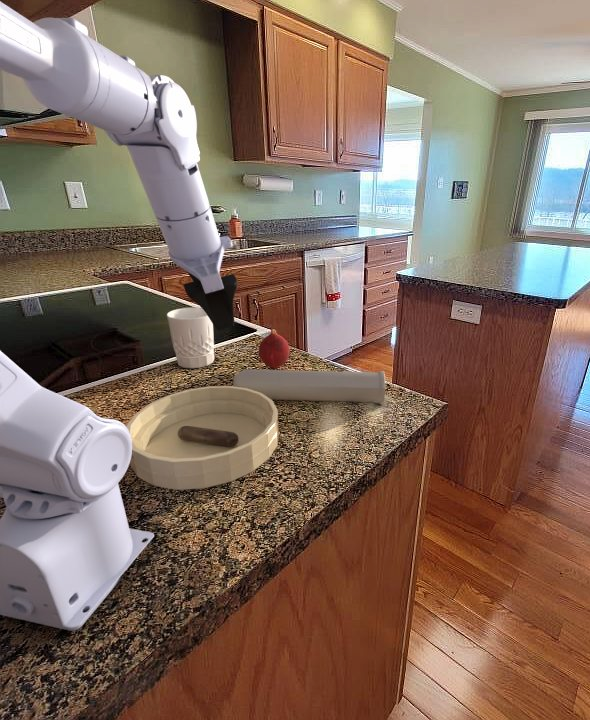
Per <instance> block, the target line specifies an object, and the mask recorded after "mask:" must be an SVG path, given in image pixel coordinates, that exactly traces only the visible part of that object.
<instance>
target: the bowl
mask: <svg viewBox="0 0 590 720" xmlns="http://www.w3.org/2000/svg"><path fill="white" fill-rule="evenodd" d="M125 426H126V427H127V429H128V430H129V433H130V435H131V440H132V455H131V460H130V463H129V466H130V467H131V469H132V470H133V472H134V473H135V475H136V476H137V477H138V479H140V480H143V481H144V482H146V483H147V484H150V485H152V486H153V487H156V488H157V487H158V488H164V489H168V490H169V489H170V490H176V491H181V490H185V491H186V490H199V489H200V490H201V489H202V490H203V489H207V488H211V487H215V486H219V485H224V484H227V483H231V482H234V481H236V480H238V479H240V478H242V477H244V476H246V475H249V474H251V473H253V472H254V471H255V470H257V469H258V468H259V467H260V466H262V465H263V464H264V463H265V462H267V461H268V460H269V459H270V458H271V456H272V455H273V453H274V452H275V450H276V449H277V447H278V445H279V444H278V443H279V434H280V431H279V410H278V408H277V406H276V404H275V403H274V401H273V399H269V398H268V397H267V396H265V395H264V394H262V393H260V392H257V391H254V390H251V389H248V388H241V387H233V385H217V386H216V385H214V386H213V385H210V386H203V387H195V388H190V389H189V388H188V389H185V390H182V391H178V392H175V393H173V394H168V395H166V396H163V397H161V398H159V399H156V400H155V401H151V402H150V403H149V404H147V405H146V406H144V407H143V408H141V409H140V410H139V411H138V412H136V413H135V414H133V416H132V417H131V419H130V420H129V421H128V423H127V424H126V425H125ZM183 426H193V427H201V428H208V429H215V430H222V431H229V432H234V433H236V434H237V435H238V439H239V440H238V443H237V444H236V445H235V446H234V447H224V446H217V445H210V444H203V443H197V442H190V441H183V440H181V439H180V438H179V437H178V430H179V429H180V428H181V427H183Z"/></svg>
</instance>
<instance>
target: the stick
mask: <svg viewBox="0 0 590 720" xmlns="http://www.w3.org/2000/svg"><path fill="white" fill-rule="evenodd" d="M178 437H179V438H180V439H181V440H183V441H190V442H197V443H203V444H210V445H217V446H224V447H234V446H235V445H236V444H237V443H238V440H239V439H238V435H237V434H236V433H234V432H229V431H222V430H215V429H208V428H201V427H193V426H183V427H181V428H180V429H179V430H178Z"/></svg>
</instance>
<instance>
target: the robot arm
mask: <svg viewBox="0 0 590 720" xmlns="http://www.w3.org/2000/svg"><path fill="white" fill-rule="evenodd" d="M88 31H89V30H88V27H87V26H86V25H85V24H84V23H81V22H80V21H78V20H77V19H75V17H74V18H73V17H56V18H55V17H43V18H40V19H37V20H35V21H34V22H32V21H31V20H29V19H28V18H27V17H25V16H24V15H22V14H20V13H19V12H18V11H16V10H14V9H13V8H11V7H10V6H9V5H6V3H3V2H2V1H0V71H3V72H5V73H8V74H11V75H13V76H16V77H18V78H20V79H22V81H23V83H24V84H25V86H26V88H27V89H28V91H29V93H30V94H31V95H32V96H33V98H34V99H35V100H36V101H37V102H38V103H40V104H41V105H42V106H44V107H45V108H47V109H49V110H50V111H51V110H52V111H54V112H57V113H60V114H62V115H64V116H67V117H69V118H73V119H75V120H77V121H80V122H83V123H86V124H88V125H89V126H90V125H91V126H93V127H95V128H98V129H101V130H103V131H104V133H105V134H106V135H107V137H108V138H109V139H110V140H111V141H112V142H113V143H114V144H115V145H117V146H120V147H122V146H125V147H126V148H127V150H128V152H129V155H130V157H131V160H132V162H133V165H134V167H135V169H136V172H137V175H138V177H139V179H140V182H141V184H142V187H143V189H144V192H145V195H146V197H147V199H148V202H149V204H150V206H151V209H152V212H153V214H154V216H155V219H156V221H157V224H158V226H159V229H160V232H161V234H162V236H163V239H164V241H165V244H166V246H167V249H168V256H169V259H170V261H171V262H172V263H173V264H174V265H177V266H178V267H179V268H181V269H182V270H184V271H185V272H186V273H187V274H188V275H189V277H190V279H191V280H192V281H190V282H187V283H186V282H185V283H183V284H182V286H183V289H184V291H185V294H186V296H187V297H188V298H189V299H190V300H191V301H192V302H194V303H196V305H198V306H199V308H202V309H203V310H204V311H205V313H206V314H207V316H208V317H209V319H210V320H211V322H212V323H213V327H214V328H215V329H216V330H217V331H222V330H226V329H229V328H232V327H234V326H235V310H234V309H235V308H234V300H235V294H236V291H237V288H238V278H237V276H236V275H235V273H231V274H227V275H223V276H221V273H220V272H221V266H222V263H223V258H224V254H225V251H226V250H229V249H231V248H233V246H234V245H233V241H232V239H231V238H230V237H229V236H228V235H224V236H220V234H219V231H218V228H217V225H216V221H215V218H214V214H213V211H212V207H211V205H210V201H209V198H208V195H207V191H206V188H205V185H204V182H203V178H202V174H201V172H200V168H199V164H198V163H199V162H200V161H201V157H200V155H201V151H200V148H199V144H198V139H197V131H198V121H197V113H196V109H195V105H194V104H192V102H191V101H190V98H189V96H188V94H187V93H186V91H185V90H184V89H183V88H182V87H181V86H180V84H178V83H176V81H175V82H174V80H173V79H172V78H171V77H169V76H167V75H164V74H147V73H146V72H145V71H144V70H142V69H140V68H138V67H137V66H136V62H135V61H134V60H133V59H131V58H130V57H129V56H127V55H118V54H117V53H115V52H114V51H112V50H110V49H109V48H107V47H106V46H104V45H103V44H101V43H100V42H97V41H96V40H95V39H94V38H92V37H90V36H89V33H88ZM131 455H132V440H131V435H130V433H129V430H128V429H127V427H126V425H125V424H124V423H123V422H121V421H119V420H116V419H112V418H105V417H100V416H99V415H98V414H95V412H94V411H93V410H92V409H90V408H89V407H88V406H86V405H84V404H82V403H80V402H77V401H75V400H73V399H70V398H68V397H66V396H63V395H61V394H59V393H56V392H55V391H52V390H50V389H47V388H46V387H44V386H42V385H40V384H39V383H38V382H37V381H36V380H35V379H33V378H32V376H30V375H29V374H28V373H27V372H25V371H24V370H23V369H22V368H21V367H19V365H17V364H16V363H15V362H14V361H13V360H12V359H10V357H8V356H7V355H6V354H5V353H4V352H2V350H0V498H3V502H4V504H5V507H6V508H5V509H4V512H3V514H2V516H1V518H0V616H3V617H8V618H12V619H17V620H21V621H26V622H30V623H35V624H39V625H43V626H47V627H52V628H56V629H61V630H64V631H69V632H74V631H78V630H79V629H80V628H82V627H83V625H84V624H85V623H86V622H87V620H89V618H90V617H91V616H92V614H94V613H95V612H96V610H97V608H99V606H100V605H101V604H102V603H103V601H104V600H105V599H106V598H107V597H108V595H109V594H110V593H111V592H112V590H113V589H114V588H115V587H116V586H117V585H118V584H119V582H120V581H121V580H122V578H121V577H122V575H123V574H124V573H125V572H126V571H127V570H128V569H129V567H130V566H131V565H132V564H133V562H134V561H135V560H136V558H138V556H139V555H140V554H141V553H142V551H143V550H145V548H146V547H147V546H148V545H149V543H150V542H151V541H152V540H153V538H154V537H155V534H154V532H150V531H146V530H140V529H134V528H130V525H129V522H128V518H127V514H126V510H125V506H124V501H123V498H122V493H121V490H120V485H119V483H120V481H121V480H122V479H123V477H124V476H125V474H126V472H127V470H128V469H129V466H130V460H131ZM145 539H146V541H144V542H143V540H145Z"/></svg>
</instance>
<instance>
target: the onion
mask: <svg viewBox="0 0 590 720" xmlns="http://www.w3.org/2000/svg"><path fill="white" fill-rule="evenodd" d="M290 354H291V351H290V345H289V343H288V341H287V339H286V338H284V337H283V336H282V335H280V334H278V332H277V330H276V329H273V328H272V329H270V333H269V334H268V335H267V336H266V337H264V338H263V339H262V340H261V342H260V343H259V347H258V356H259V360H261V362H262V363H263V364H264V365H266V366H267V367H269V368H271V370H278V368H280V367H281V366H283V365H284V364H285V363H286V362H287V361H288V359H289V358H290Z"/></svg>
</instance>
